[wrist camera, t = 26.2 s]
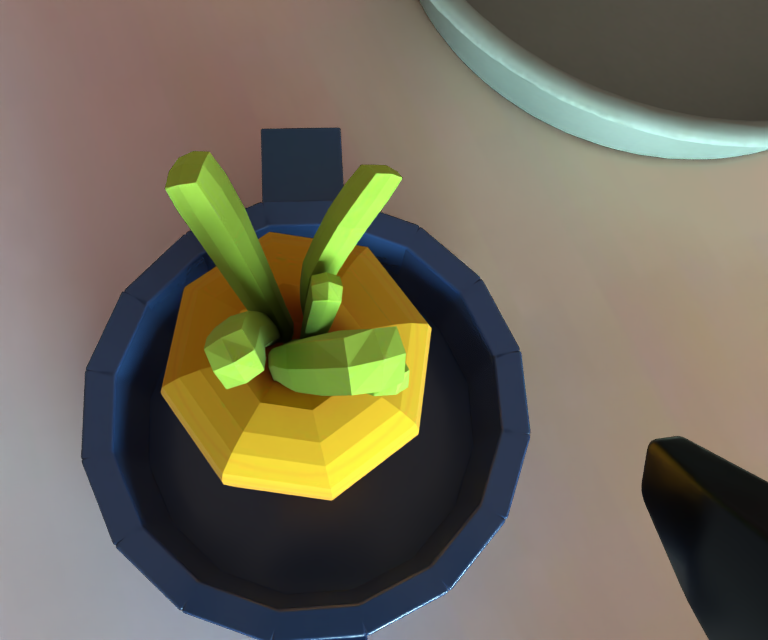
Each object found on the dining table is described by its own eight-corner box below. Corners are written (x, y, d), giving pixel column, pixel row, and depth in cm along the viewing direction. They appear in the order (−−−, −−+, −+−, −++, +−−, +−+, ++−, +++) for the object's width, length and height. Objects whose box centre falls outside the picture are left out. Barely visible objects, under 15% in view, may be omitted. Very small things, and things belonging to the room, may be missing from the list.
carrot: (216, 373, 23) (32, 123, 9) (368, 338, 24) (432, 49, 9) (249, 532, 22) (99, 546, 7) (408, 489, 22) (553, 427, 8)
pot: (118, 736, 21) (64, 791, 16) (135, 186, 25) (96, 118, 21) (520, 700, 22) (567, 743, 17) (467, 178, 26) (494, 112, 22)
